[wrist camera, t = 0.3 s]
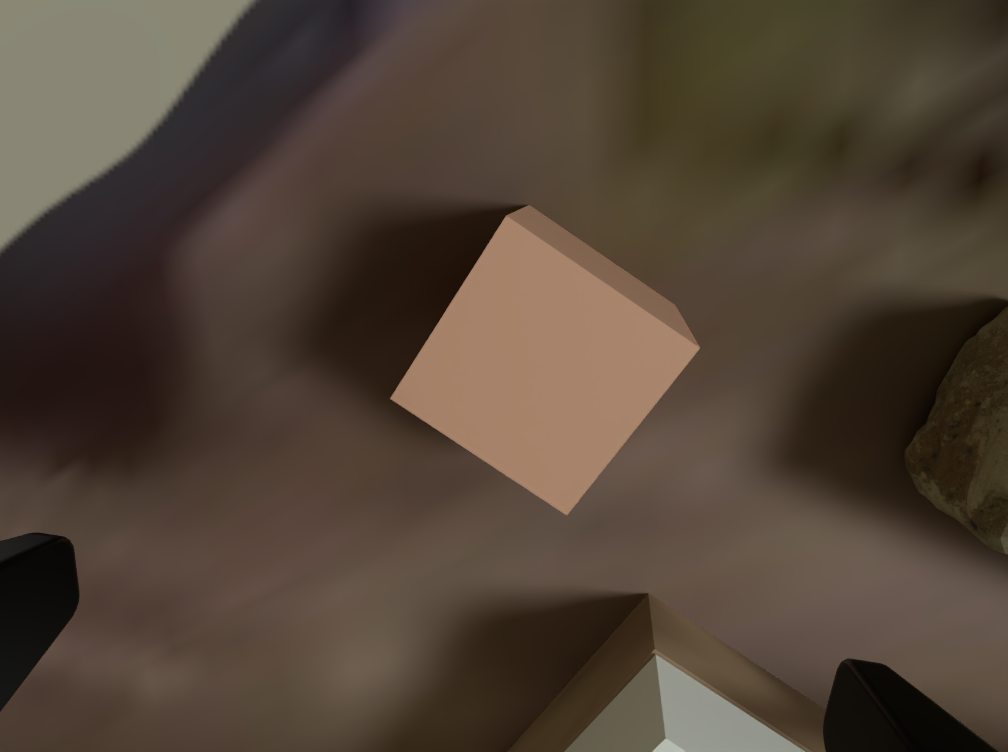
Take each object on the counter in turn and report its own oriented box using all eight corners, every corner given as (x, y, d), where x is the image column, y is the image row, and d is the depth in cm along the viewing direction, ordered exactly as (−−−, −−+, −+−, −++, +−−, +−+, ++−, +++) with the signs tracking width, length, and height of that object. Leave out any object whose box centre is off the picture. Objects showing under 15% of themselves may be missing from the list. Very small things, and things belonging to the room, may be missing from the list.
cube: (674, 304, 19) (700, 347, 14) (574, 437, 21) (566, 515, 16) (529, 204, 19) (506, 215, 14) (438, 346, 20) (390, 398, 16)
